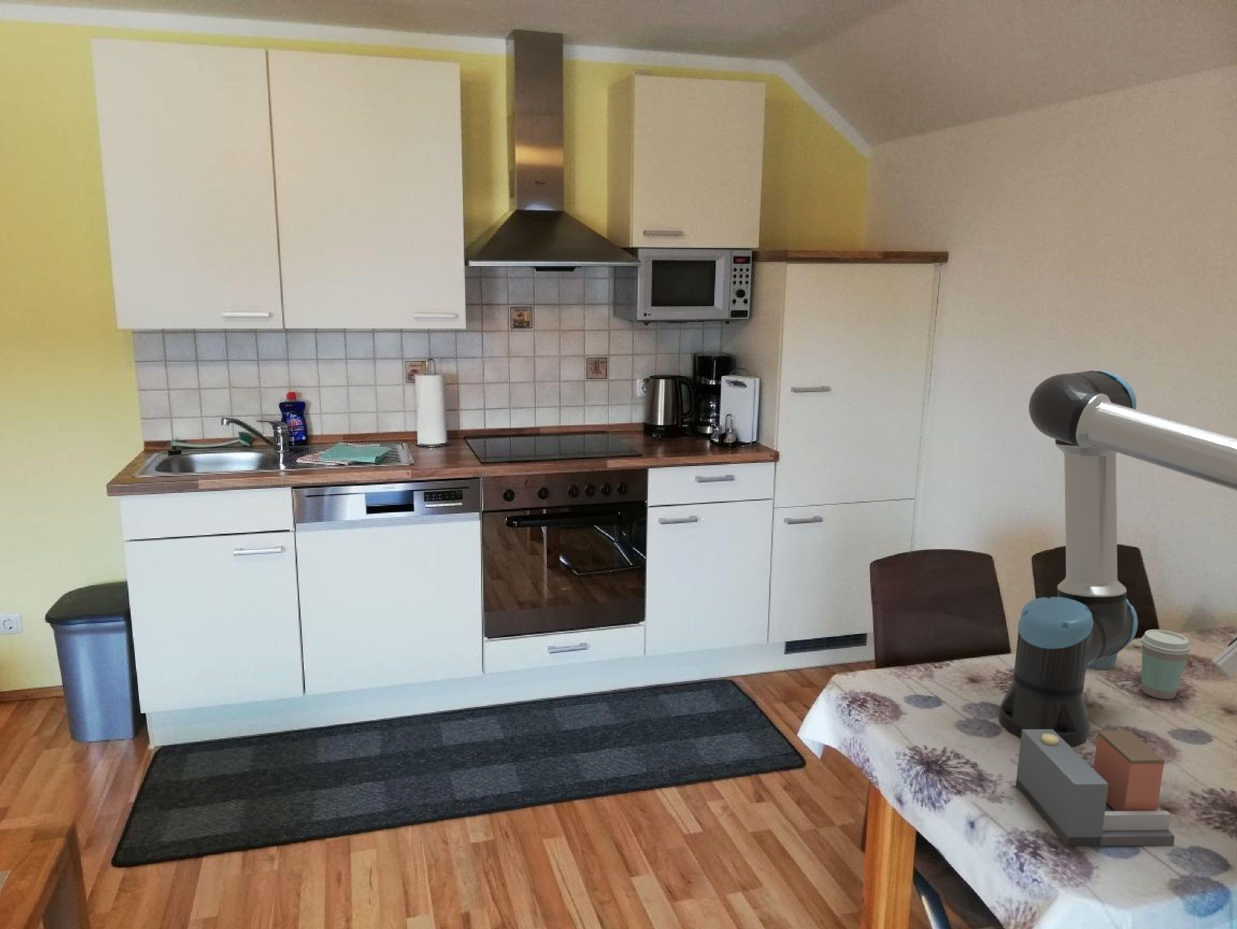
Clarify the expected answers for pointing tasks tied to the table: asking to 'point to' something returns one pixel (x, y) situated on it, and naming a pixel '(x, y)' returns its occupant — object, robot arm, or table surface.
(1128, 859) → the table surface
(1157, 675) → the coffee cup
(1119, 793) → the orange brown-topped block
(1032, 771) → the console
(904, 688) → the table surface
